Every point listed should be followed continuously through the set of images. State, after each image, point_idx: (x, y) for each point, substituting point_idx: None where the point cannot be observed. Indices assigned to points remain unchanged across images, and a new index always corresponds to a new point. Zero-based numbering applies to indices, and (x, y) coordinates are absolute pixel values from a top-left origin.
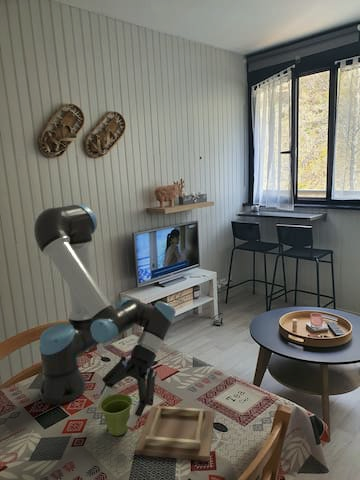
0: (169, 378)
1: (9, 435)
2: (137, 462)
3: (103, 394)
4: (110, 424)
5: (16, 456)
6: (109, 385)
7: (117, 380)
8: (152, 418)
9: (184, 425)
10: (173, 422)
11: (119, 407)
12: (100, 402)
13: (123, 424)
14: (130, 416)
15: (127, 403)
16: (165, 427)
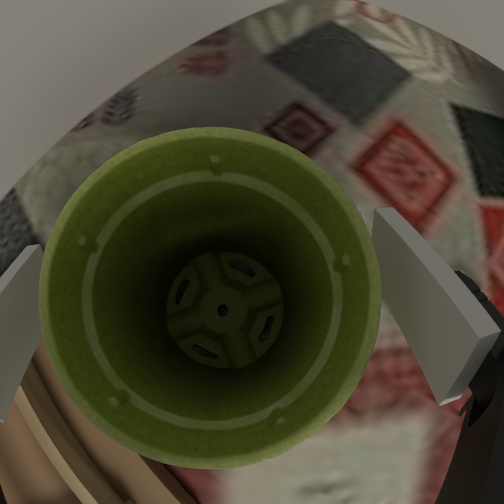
0: None
1: (462, 50)
2: (19, 236)
3: (433, 272)
4: (186, 220)
5: (370, 17)
6: (487, 380)
7: (455, 494)
8: (113, 462)
9: (5, 476)
10: (37, 478)
11: (280, 371)
12: (393, 239)
13: (135, 293)
14: (8, 280)
15: (199, 417)
16: (30, 437)
